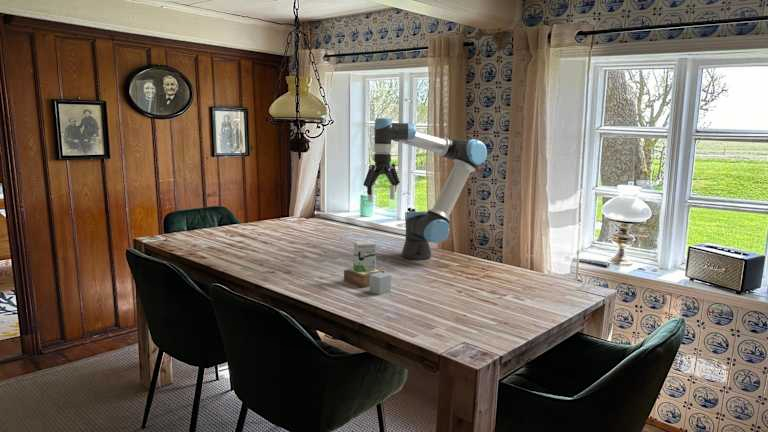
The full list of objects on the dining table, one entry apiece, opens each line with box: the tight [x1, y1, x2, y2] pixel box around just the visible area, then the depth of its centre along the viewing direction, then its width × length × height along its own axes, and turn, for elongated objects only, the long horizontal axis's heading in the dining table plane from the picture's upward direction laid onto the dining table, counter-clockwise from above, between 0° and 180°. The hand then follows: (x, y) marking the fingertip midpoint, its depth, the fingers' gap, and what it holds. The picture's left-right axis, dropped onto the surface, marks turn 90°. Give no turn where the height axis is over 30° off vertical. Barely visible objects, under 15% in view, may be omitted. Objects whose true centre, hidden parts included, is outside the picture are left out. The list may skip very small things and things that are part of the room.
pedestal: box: [343, 267, 385, 289], centre depth 224 cm, size 12×12×5 cm
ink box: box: [352, 240, 377, 272], centre depth 223 cm, size 9×5×12 cm, turn 105°
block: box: [368, 272, 392, 296], centre depth 212 cm, size 6×6×7 cm
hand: (381, 200), depth 241 cm, fingers open, 13 cm apart
